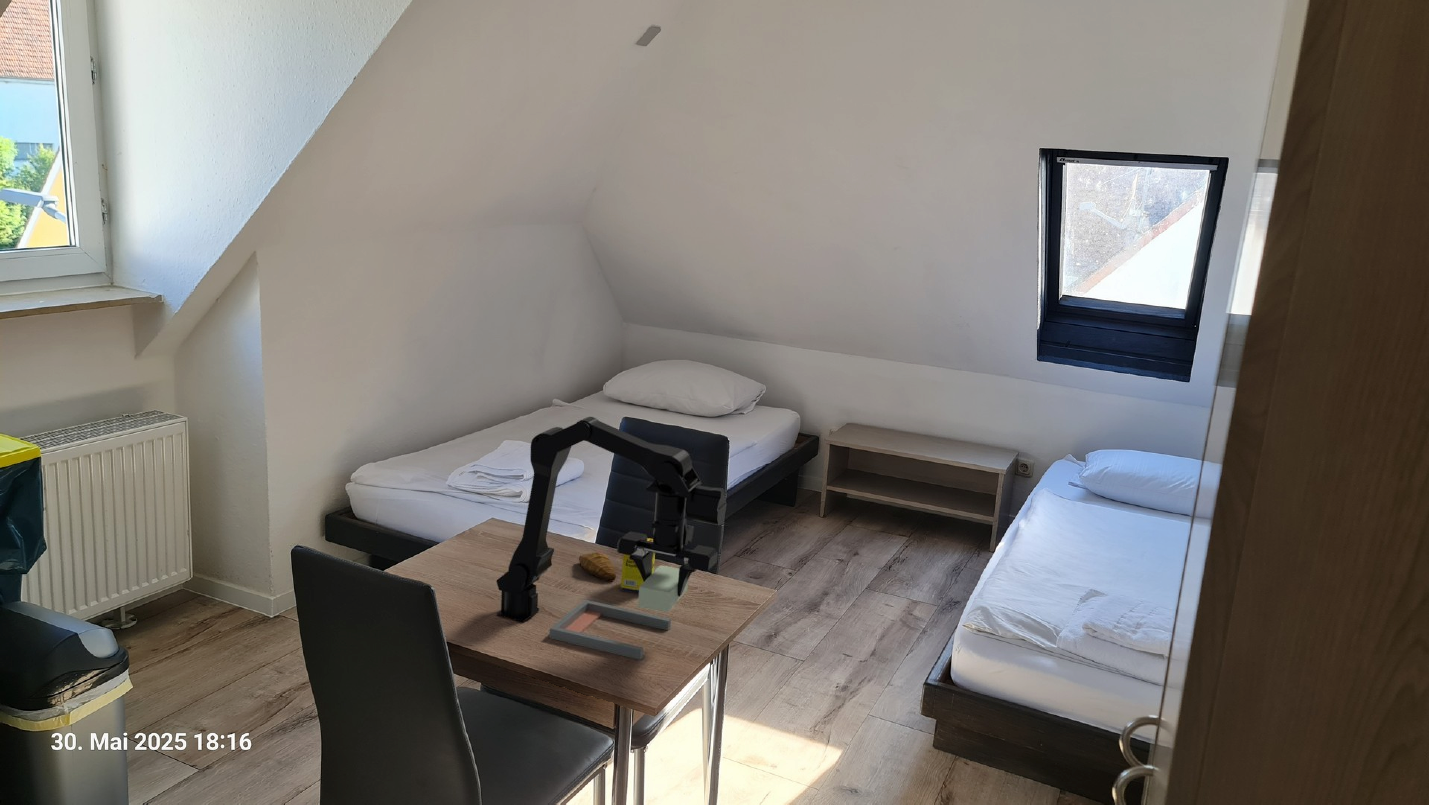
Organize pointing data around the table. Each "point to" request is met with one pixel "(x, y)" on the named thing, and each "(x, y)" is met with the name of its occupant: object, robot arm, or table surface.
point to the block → (660, 589)
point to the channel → (584, 617)
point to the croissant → (598, 565)
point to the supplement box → (632, 574)
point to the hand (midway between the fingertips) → (664, 592)
